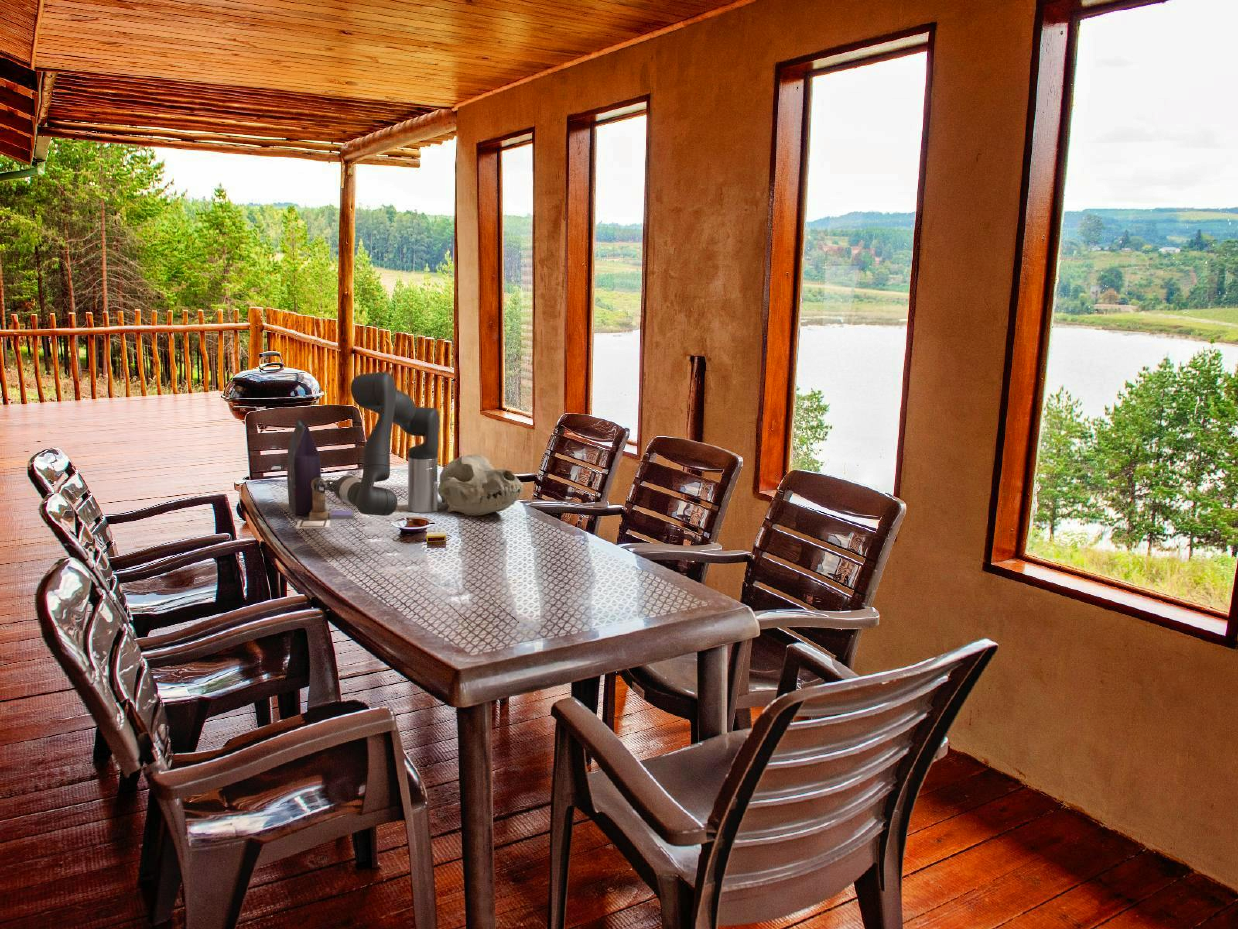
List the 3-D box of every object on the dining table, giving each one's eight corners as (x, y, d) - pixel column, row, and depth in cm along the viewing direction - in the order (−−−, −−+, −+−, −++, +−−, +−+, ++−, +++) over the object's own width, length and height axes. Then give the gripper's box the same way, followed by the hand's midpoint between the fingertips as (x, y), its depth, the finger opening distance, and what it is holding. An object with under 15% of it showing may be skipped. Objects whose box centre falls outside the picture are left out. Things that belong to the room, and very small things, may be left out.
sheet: (330, 521, 282) (330, 519, 282) (328, 528, 275) (328, 526, 275) (298, 521, 281) (298, 520, 280) (295, 528, 273) (295, 527, 273)
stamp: (328, 516, 288) (327, 476, 286) (327, 520, 283) (326, 479, 281) (311, 517, 287) (310, 476, 285) (309, 521, 282) (309, 479, 280)
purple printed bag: (314, 504, 303) (312, 418, 298) (322, 516, 289) (321, 426, 284) (287, 506, 300) (285, 419, 295) (294, 517, 285) (292, 426, 280)
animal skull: (501, 504, 280) (484, 435, 283) (428, 532, 302) (413, 468, 304) (550, 498, 297) (533, 433, 300) (478, 525, 319) (463, 464, 321)
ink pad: (354, 513, 294) (354, 509, 293) (353, 518, 287) (353, 515, 287) (331, 513, 292) (331, 510, 292) (329, 519, 285) (329, 515, 285)
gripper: (377, 475, 265) (355, 466, 277) (327, 479, 256) (307, 469, 269) (377, 501, 266) (355, 491, 279) (327, 506, 257) (307, 495, 270)
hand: (331, 480), depth 274 cm, fingers open, 8 cm apart
